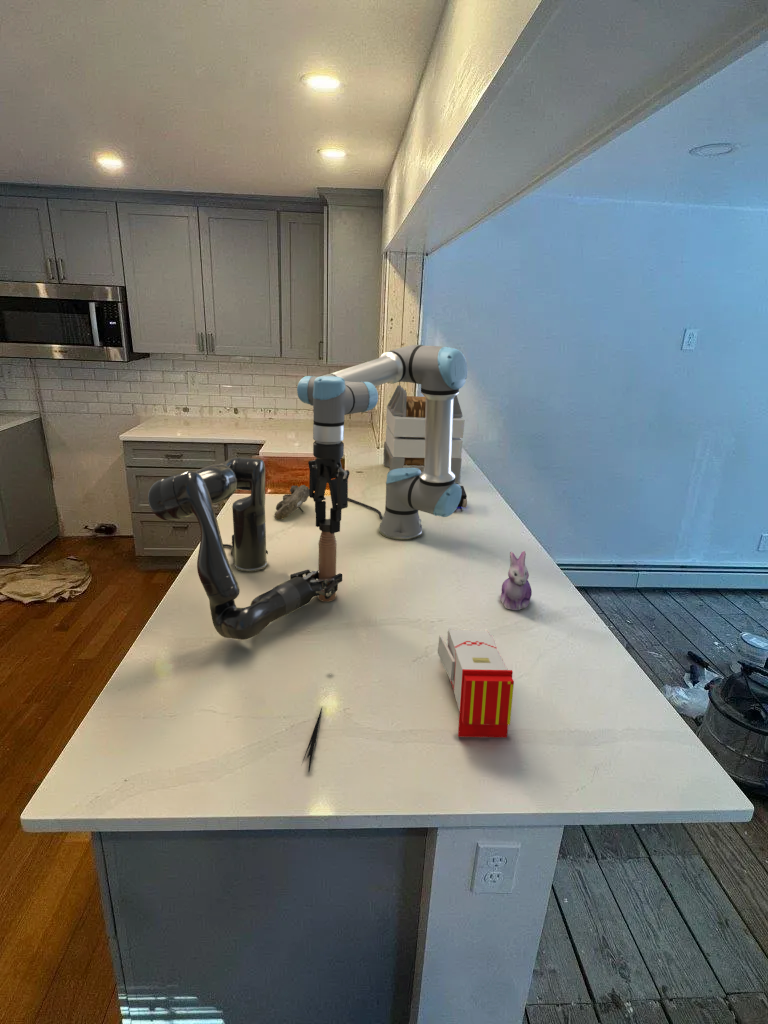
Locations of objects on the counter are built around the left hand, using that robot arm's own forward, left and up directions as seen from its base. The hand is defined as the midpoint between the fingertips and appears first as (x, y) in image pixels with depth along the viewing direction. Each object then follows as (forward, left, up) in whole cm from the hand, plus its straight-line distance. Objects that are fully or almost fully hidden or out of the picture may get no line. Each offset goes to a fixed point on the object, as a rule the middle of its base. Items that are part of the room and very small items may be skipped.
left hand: (333, 573), depth 154 cm
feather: (+31, -40, -6) cm, 51 cm away
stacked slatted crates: (-49, +120, -6) cm, 130 cm away
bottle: (0, -3, -6) cm, 7 cm away
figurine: (+41, +28, -6) cm, 51 cm away
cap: (0, -3, +16) cm, 16 cm away
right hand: (0, -3, +14) cm, 14 cm away
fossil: (-54, +40, -6) cm, 68 cm away
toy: (+50, -14, -6) cm, 52 cm away
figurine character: (-10, +88, -6) cm, 89 cm away
